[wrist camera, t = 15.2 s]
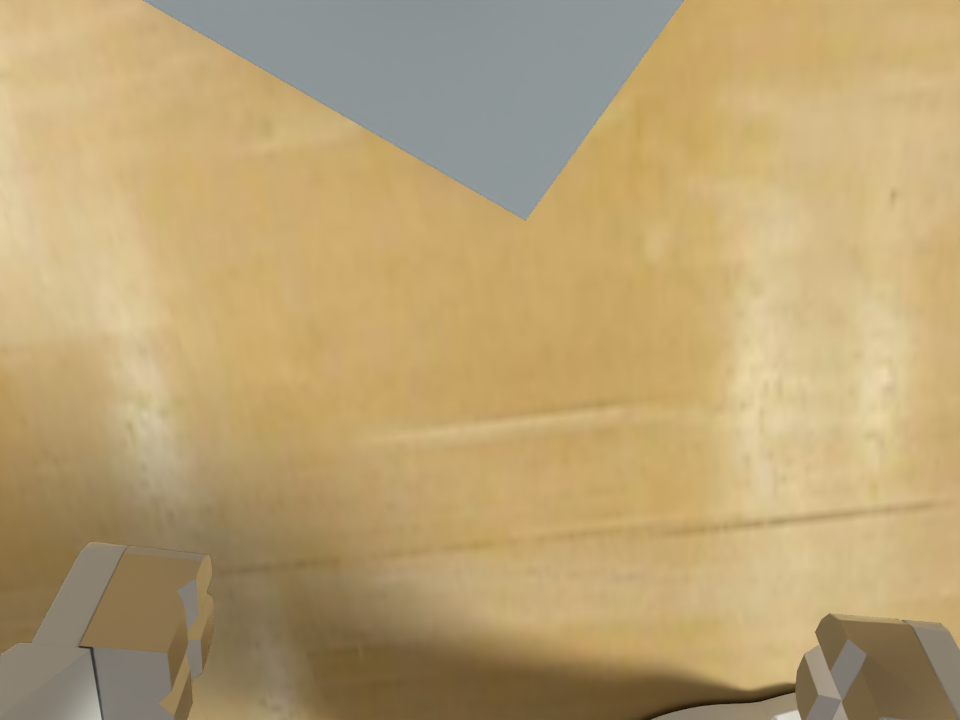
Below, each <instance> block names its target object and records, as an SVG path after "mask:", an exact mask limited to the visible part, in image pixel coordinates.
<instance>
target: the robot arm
mask: <svg viewBox="0 0 960 720" xmlns="http://www.w3.org/2000/svg"><path fill="white" fill-rule="evenodd" d="M211 578H212V566H211V557H210V556H208V555H206V554H197V553H189V552H181V551H173V550H164V549H156V548H148V547H139V546H131V545H130V546H126V545H117V544H109V543H101V542H92V541H90V542H89V543H88V544H87V545H86V546H85V547H84V548H83V549H82V550H81V551H80V552H79V554H78V556H77V558H76V560H75V562H74V564H73V565H72V567H71V569H70V571H69V573H68V575H67V577H66V578H65V580H64V582H63V584H62V586H61V588H60V590H59V591H58V593H57V595H56V597H55V599H54V601H53V603H52V604H51V606H50V608H49V610H48V612H47V614H46V616H45V617H44V619H43V621H42V623H41V625H40V627H39V629H38V630H37V632H36V634H35V636H34V638H33V640H32V642H31V643H19V642H18V643H17V644H15V645H14V646H12V647H11V648H9V649H8V650H6V651H5V652H3V653H2V654H0V720H187V718H188V715H189V712H190V709H191V706H192V703H193V701H192V686H191V681H192V680H194V679H195V678H196V677H197V676H199V675H200V674H201V673H202V672H203V669H204V666H205V662H206V659H207V656H208V653H209V648H210V642H211V637H212V632H213V623H214V599H213V598H212V597H211V596H210V595H209V594H208V593H207V589H208V587H209V584H210V581H211ZM815 633H816V636H817V639H818V641H819V644H820V645H818V646H817V647H815V648H813V649H812V650H810V651H809V652H807V653H805V654H804V656H803V658H802V660H801V663H800V665H799V667H798V670H797V676H796V688H795V693H791V694H787V695H783V696H779V697H775V698H772V699H768V700H765V701H761V702H755V703H744V704H719V705H708V706H701V707H694V708H689V709H684V710H680V711H676V712H672V713H669V714H665V715H662V716H659V717H657V718H654V719H651V720H960V650H959V648H958V646H957V644H956V642H955V641H954V639H953V637H952V635H951V633H950V632H949V630H948V629H947V628H945V627H944V626H943V625H942V624H941V623H933V622H922V621H911V620H898V619H890V618H879V617H867V616H855V615H843V614H831V613H829V614H828V615H827V616H825V617H824V618H823V619H821V621H820V623H819V625H818V627H817V629H816V631H815Z"/></svg>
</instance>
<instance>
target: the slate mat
mask: <svg viewBox="0 0 960 720" xmlns="http://www.w3.org/2000/svg"><path fill="white" fill-rule="evenodd" d="M144 1H145V2H147V3H149V4H150V5H152V6H154V7H156V8H157V9H159V10H161V11H163V12H164V13H166V14H168V15H170V16H171V17H173V18H175V19H177V20H178V21H180V22H182V23H183V24H185V25H187V26H189V27H190V28H192V29H194V30H196V31H197V32H199V33H201V34H203V35H204V36H206V37H208V38H210V39H211V40H213V41H215V42H216V43H218V44H220V45H222V46H223V47H225V48H227V49H229V50H230V51H232V52H234V53H236V54H237V55H239V56H241V57H242V58H244V59H246V60H248V61H249V62H251V63H253V64H255V65H256V66H258V67H260V68H262V69H263V70H265V71H267V72H269V73H270V74H272V75H274V76H275V77H277V78H279V79H281V80H282V81H284V82H286V83H288V84H289V85H291V86H293V87H295V88H296V89H298V90H300V91H302V92H303V93H305V94H307V95H308V96H310V97H312V98H314V99H315V100H317V101H319V102H321V103H322V104H324V105H326V106H328V107H329V108H331V109H333V110H334V111H336V112H338V113H340V114H341V115H343V116H345V117H347V118H348V119H350V120H352V121H354V122H355V123H357V124H359V125H361V126H362V127H364V128H366V129H367V130H369V131H371V132H373V133H374V134H376V135H378V136H380V137H381V138H383V139H385V140H387V141H388V142H390V143H392V144H394V145H395V146H397V147H399V148H400V149H402V150H404V151H406V152H407V153H409V154H411V155H413V156H414V157H416V158H418V159H420V160H421V161H423V162H425V163H427V164H428V165H430V166H432V167H433V168H435V169H437V170H439V171H440V172H442V173H444V174H446V175H447V176H449V177H451V178H453V179H454V180H456V181H458V182H459V183H461V184H463V185H465V186H466V187H468V188H470V189H472V190H473V191H475V192H477V193H479V194H480V195H482V196H484V197H486V198H487V199H489V200H491V201H492V202H494V203H496V204H498V205H499V206H501V207H503V208H505V209H506V210H508V211H510V212H512V213H513V214H515V215H517V216H519V217H520V218H522V219H524V220H525V221H526V219H527V218H528V217H529V215H530V214H531V213H532V211H533V210H534V208H535V207H536V206H537V204H538V203H539V201H540V200H541V199H542V197H543V196H544V194H545V193H546V192H547V190H548V189H549V187H550V186H551V185H552V183H553V182H554V181H555V179H556V178H557V176H558V175H559V174H560V172H561V171H562V169H563V168H564V167H565V165H566V164H567V162H568V161H569V160H570V158H571V157H572V155H573V154H574V153H575V151H576V150H577V149H578V147H579V146H580V144H581V143H582V142H583V140H584V139H585V137H586V136H587V135H588V133H589V132H590V130H591V129H592V128H593V126H594V125H595V123H596V122H597V121H598V119H599V118H600V117H601V115H602V114H603V112H604V111H605V110H606V108H607V107H608V105H609V104H610V103H611V101H612V100H613V98H614V97H615V96H616V94H617V93H618V91H619V90H620V89H621V87H622V86H623V85H624V83H625V82H626V80H627V79H628V78H629V76H630V75H631V73H632V72H633V71H634V69H635V68H636V66H637V65H638V64H639V62H640V61H641V59H642V58H643V57H644V55H645V54H646V53H647V51H648V50H649V48H650V47H651V46H652V44H653V43H654V41H655V40H656V39H657V37H658V36H659V34H660V33H661V32H662V30H663V29H664V27H665V26H666V25H667V23H668V22H669V21H670V19H671V18H672V16H673V15H674V14H675V12H676V11H677V9H678V8H679V7H680V5H681V4H682V2H683V1H684V0H144Z"/></svg>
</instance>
